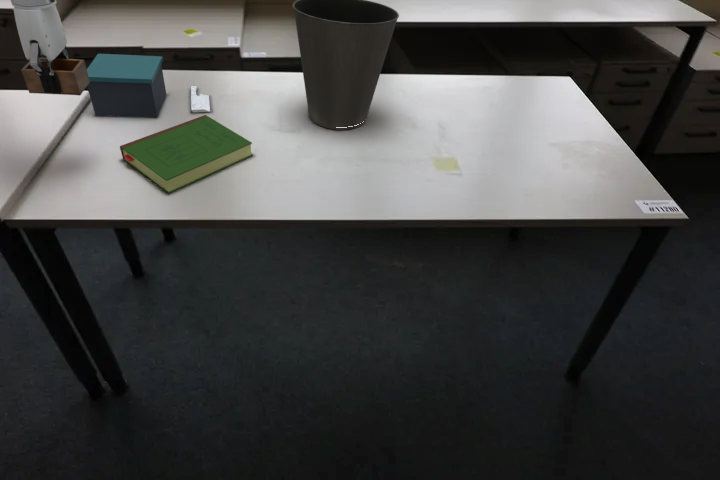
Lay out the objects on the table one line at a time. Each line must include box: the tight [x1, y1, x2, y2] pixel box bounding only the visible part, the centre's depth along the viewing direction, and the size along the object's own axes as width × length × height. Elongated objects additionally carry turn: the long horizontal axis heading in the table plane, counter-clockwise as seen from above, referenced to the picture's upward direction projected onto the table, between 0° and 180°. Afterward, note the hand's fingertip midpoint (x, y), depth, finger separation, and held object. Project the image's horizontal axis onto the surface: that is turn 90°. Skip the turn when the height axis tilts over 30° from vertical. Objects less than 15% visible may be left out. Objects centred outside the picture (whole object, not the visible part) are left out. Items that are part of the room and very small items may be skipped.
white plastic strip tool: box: [190, 85, 211, 113], centre depth 149 cm, size 5×15×1 cm, turn 14°
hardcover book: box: [119, 114, 254, 194], centre depth 126 cm, size 25×19×4 cm
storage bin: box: [86, 53, 167, 119], centre depth 141 cm, size 17×15×11 cm
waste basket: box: [292, 0, 400, 131], centre depth 140 cm, size 27×20×30 cm
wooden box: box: [20, 56, 90, 96], centre depth 108 cm, size 10×6×5 cm, turn 95°
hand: (59, 84), depth 109 cm, fingers closed on wooden box, 6 cm apart
